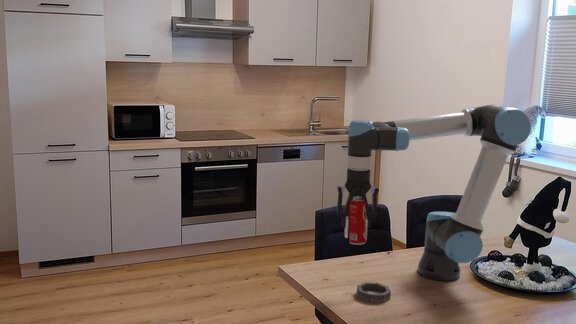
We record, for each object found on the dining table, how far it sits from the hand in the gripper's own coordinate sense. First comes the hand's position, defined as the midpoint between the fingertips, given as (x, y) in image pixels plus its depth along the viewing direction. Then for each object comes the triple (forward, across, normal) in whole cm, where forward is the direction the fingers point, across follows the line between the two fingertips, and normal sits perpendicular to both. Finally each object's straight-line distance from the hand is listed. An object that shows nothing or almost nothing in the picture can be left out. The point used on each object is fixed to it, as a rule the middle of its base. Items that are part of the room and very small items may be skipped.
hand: (355, 236), depth 186 cm
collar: (+18, -6, +5) cm, 20 cm away
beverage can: (+2, 0, 0) cm, 2 cm away
